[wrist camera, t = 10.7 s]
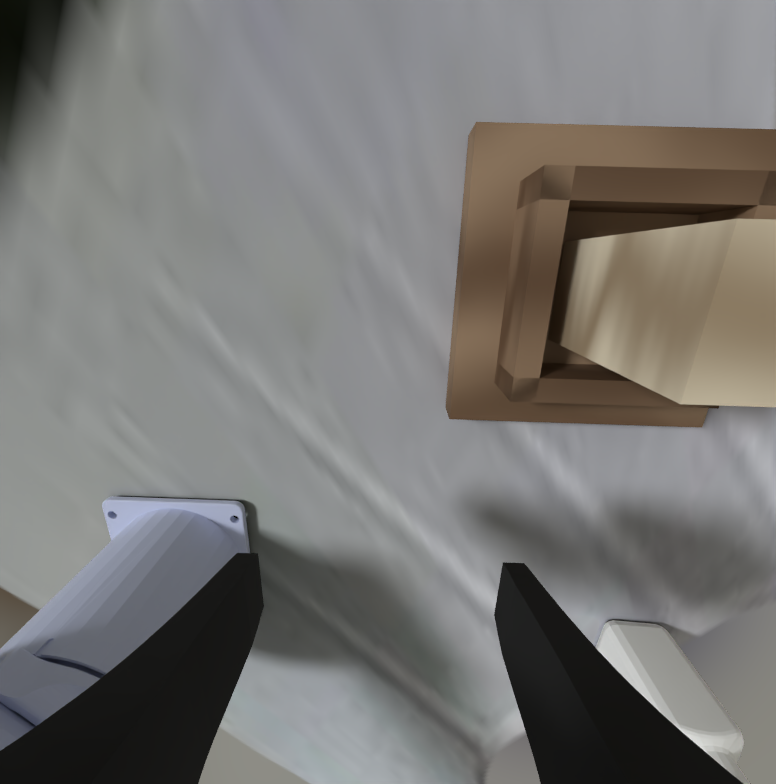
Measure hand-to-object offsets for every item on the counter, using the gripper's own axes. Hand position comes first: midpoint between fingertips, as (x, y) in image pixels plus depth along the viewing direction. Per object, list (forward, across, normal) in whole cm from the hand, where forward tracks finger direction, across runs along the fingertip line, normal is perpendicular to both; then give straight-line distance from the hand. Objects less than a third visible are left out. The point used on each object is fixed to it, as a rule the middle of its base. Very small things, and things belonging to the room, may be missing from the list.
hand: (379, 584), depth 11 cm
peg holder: (+9, -9, -8) cm, 15 cm away
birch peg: (+8, -9, -8) cm, 14 cm away
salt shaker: (+10, -16, +14) cm, 23 cm away
